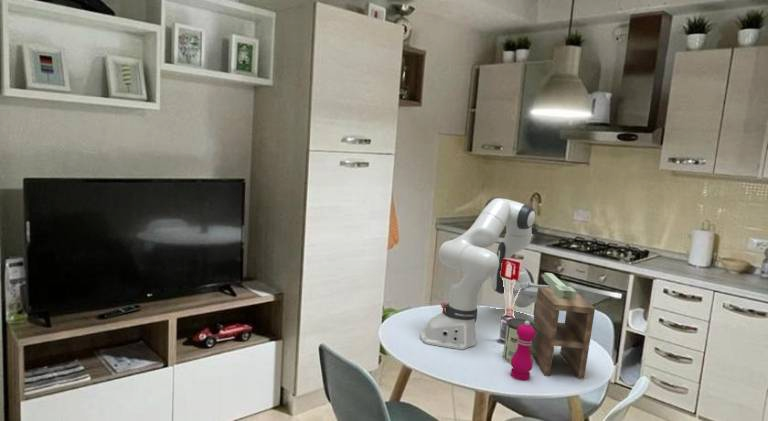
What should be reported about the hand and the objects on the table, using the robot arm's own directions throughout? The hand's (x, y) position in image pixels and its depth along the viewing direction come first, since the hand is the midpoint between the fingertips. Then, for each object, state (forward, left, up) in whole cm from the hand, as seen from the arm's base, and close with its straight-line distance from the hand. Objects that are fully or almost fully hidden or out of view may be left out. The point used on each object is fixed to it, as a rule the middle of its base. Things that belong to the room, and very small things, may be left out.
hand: (539, 285), depth 218 cm
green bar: (0, -21, +5) cm, 21 cm away
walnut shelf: (0, -31, -21) cm, 37 cm away
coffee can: (-14, -29, -21) cm, 38 cm away
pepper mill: (-16, -43, -21) cm, 50 cm away
